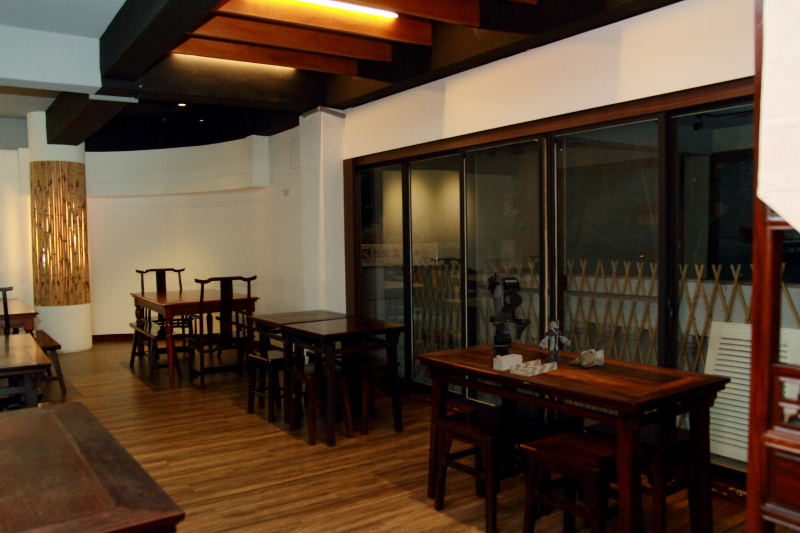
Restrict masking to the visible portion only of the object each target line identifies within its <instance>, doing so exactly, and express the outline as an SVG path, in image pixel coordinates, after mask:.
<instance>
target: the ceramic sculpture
mask: <svg viewBox="0 0 800 533" xmlns="http://www.w3.org/2000/svg"><path fill="white" fill-rule="evenodd" d="M604 359H605V351H604V348H602V349H598V350H597V351H596V350H595V349H594V348H591V347H589V348H588V349H587V350H583V351H581V353H580V354H579V357H578V358H575V359H573V360H569V364H570V363H571V364H573V365H579V366H580V365H581V367H584V368H593V367H594V366H597V367H602V366H603V365H604V363H605V360H604Z"/></svg>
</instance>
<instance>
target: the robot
mask: <svg viewBox="0 0 800 533" xmlns="http://www.w3.org/2000/svg"><path fill="white" fill-rule="evenodd" d="M559 324H560V318H558V320H557V321H556V320H554V319H552V320H551V321H550V323H549V324H548V329H549V330H546V332H545V333H544V335H545V338H542V339H541V340H540V342H539V344H538V346H537V348H538V350H541V351H543V350H544V349H545V348H546V347H547V345H548V343H549V345H550V346H549V347H548V353H547V358H546V364H548V363H552V362H557V363H563V358H562V357H561V353H560V346H559V345H558V344H559V340H560V342H561V344H563V345H564V346H566V347H570V346H571V344H572V343H571V341H570V340H569V339H568V338H567V337H566V336H563V335H562V334H563V332H562V330H560V329H559V328H560V326H559ZM558 339H559V340H558ZM548 340H549V342H548Z"/></svg>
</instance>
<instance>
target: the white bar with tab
mask: <svg viewBox="0 0 800 533" xmlns="http://www.w3.org/2000/svg"><path fill="white" fill-rule="evenodd" d="M492 359H493V366H492V367H493V370H497V371H502V372H503V371H507V370H510V366H512V365H517V364H521V363H523V360H524V359H523V355H522V354H515V353H509V355H506V356H501V357H500V355H497V356H496V358H494V357H493V358H492Z"/></svg>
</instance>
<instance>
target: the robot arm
mask: <svg viewBox="0 0 800 533" xmlns="http://www.w3.org/2000/svg"><path fill="white" fill-rule="evenodd" d="M485 287H486V288H485V289H486V291H487V295H488V296H489V298H490V299H491V301H492V308H493V310H492V311H493V315H490V316H489V317H488V318H489V321H488V322H489V323H491V325H493V326H495V329H494V331H493V333H492V337H491V340H490V347H491V348H492V349H493V358H496V356H497V355H500V357H501V356H506V355H510V350H509V349H511V348H512V344H513V343H512V342H513V337H512V335H511V332H510V328H509V327H507V326H506V323H511V324H516V325H515V326H514V327H515V329H516V340H517V342H518V341H520V340H521V337H522V335H523V333H524V331H525V330H526V328H527V327H529V326H530V325H531V324H532V323H531V319H530V318H529V317H519V316H518V315H517V310H518V309H519V307H520V306H521V305H522V303H523V298H522V296H521V295H520V294H519V293H522V286H521V283H520V281H519V279H518V277H517V276H515V275H514V276H509V275H508V274H506V273H505V272H504V271H495V272H493V273H492V275H491V276H490V277H489V278H487V280H486V283H485ZM493 358H492V359H491V361H493Z"/></svg>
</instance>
